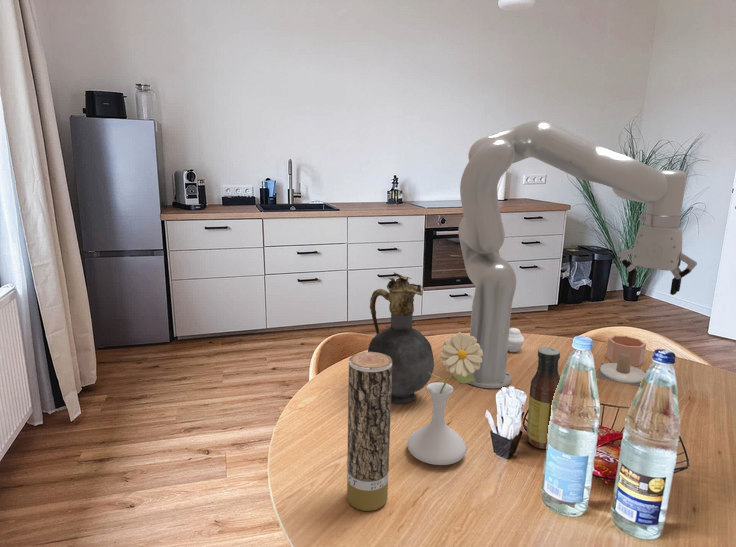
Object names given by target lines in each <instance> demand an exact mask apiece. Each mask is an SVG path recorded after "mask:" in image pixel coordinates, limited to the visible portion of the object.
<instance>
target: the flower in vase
mask: <svg viewBox="0 0 736 547" xmlns="http://www.w3.org/2000/svg"><path fill="white" fill-rule="evenodd" d="M476 342H477V339H475V338H474V337H473V336H471V337H470V334H468V333H465V334H464V333H462V332H460V331H459V332H457V334H456V333H454V334H453V335H452V336H451V337H448V338H446V339H445V340H444V341H443V343H442V346H443V347H442V348H441V351H440V357H439V359H440V361H441V362H442V365H443V366H444V367H445V371H446V372H447V373H450V374H449V377H448V378H447V379H444V378H442V377H441V376H438V375H435V374H433V373H432V374H431V373H430V372H429V371H428V372H429V374H430V375H432V376H431V377H435V378H437V379H440V380H442V381H444V382H439V381H438V382H437V381H436V382H431V383H427V384H426V391H428V393H429V395H430V397H431V401H432V417H431V420H430V422H429V423H428V424H425V425H424V426H421V427H420V428H418V429H416V430H415V431H414V432H413V433H411V434H410V435H409V437H408V439H407V442H406V446H407V449H408V451H409V453H410V454H411V455H412V456H413V457H414V458H416V459H417V460H419V461H420V462H423V463H426V464H430V465H434V466H448V465H452V464H455V463H458V462H459V461H461V460H462V459H463V458H464V457H465V455H466V454H467V451H468V450H467V449H468V448H467V445H466V442H465V440H464V439H463V437H462V436H460V434H459V433H458V432H456V431H455V430H454V429H452V428H451V427H450V426H448V425H447V423H446V420H445V415H446V414H445V413H446V412H445V411H446V407H447V406H446V405H447V401H448V398H449V396H450V395H451V394H452V393H453V392H454V387H453V386H452V385H450V384H448V382H449V381H450V379H451V378H452V377H454V379H455V380H456V381H457V382H458V383H459V384H463V385H464V384H469V382H472V381H474V380H475V378H474V376H473V375H472V374H471V373H474V372H475V371H476V370H479V369H480V363H482V358H481V357H482V356H483V353H482V352H483V351H482V349H480V345H479V344H478V343H476Z"/></svg>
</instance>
